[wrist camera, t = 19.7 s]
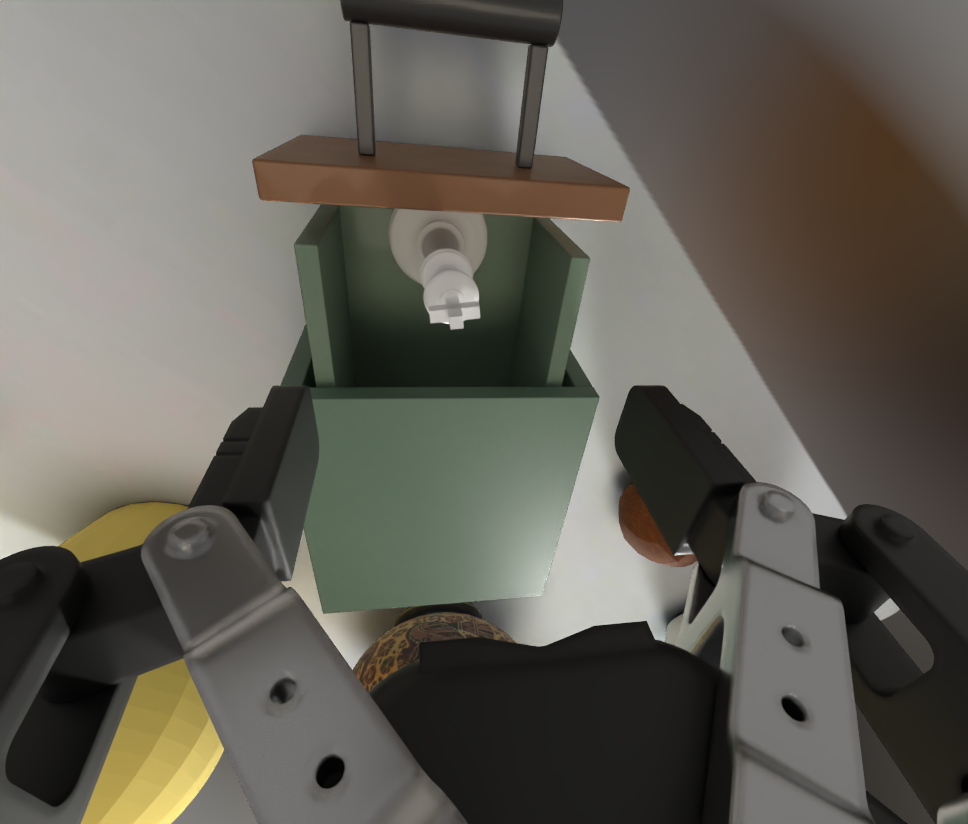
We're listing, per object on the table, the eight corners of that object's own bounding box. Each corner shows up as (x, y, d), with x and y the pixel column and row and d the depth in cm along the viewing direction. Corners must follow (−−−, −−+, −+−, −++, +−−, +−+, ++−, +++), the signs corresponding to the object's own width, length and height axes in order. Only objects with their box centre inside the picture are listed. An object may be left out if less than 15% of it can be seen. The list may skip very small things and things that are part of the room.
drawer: (278, -27, 17) (203, -91, 11) (591, 16, 19) (682, -15, 13) (334, 400, 29) (314, 491, 22) (525, 399, 31) (556, 481, 24)
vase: (-11, 532, 32) (-946, 1547, 10) (161, 437, 30) (-587, 1534, 7) (177, 622, 42) (-86, 1248, 19) (320, 557, 39) (207, 1194, 17)
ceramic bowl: (498, 520, 43) (504, 662, 30) (585, 628, 49) (622, 787, 36) (311, 618, 49) (243, 776, 35) (409, 705, 55) (384, 867, 42)
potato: (646, 543, 44) (677, 603, 39) (583, 490, 39) (610, 553, 33) (700, 511, 43) (740, 569, 37) (643, 450, 37) (681, 510, 31)
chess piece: (380, 186, 21) (363, 252, 13) (485, 178, 21) (533, 237, 13) (397, 289, 24) (392, 394, 16) (488, 280, 24) (529, 378, 16)
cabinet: (314, 302, 26) (273, 399, 18) (545, 308, 28) (600, 397, 20) (341, 494, 35) (322, 614, 27) (513, 487, 37) (542, 596, 29)
